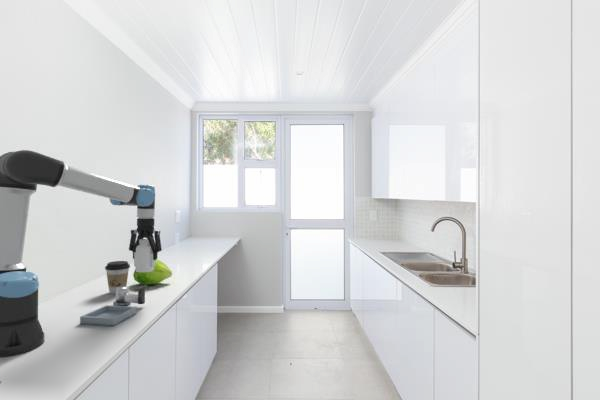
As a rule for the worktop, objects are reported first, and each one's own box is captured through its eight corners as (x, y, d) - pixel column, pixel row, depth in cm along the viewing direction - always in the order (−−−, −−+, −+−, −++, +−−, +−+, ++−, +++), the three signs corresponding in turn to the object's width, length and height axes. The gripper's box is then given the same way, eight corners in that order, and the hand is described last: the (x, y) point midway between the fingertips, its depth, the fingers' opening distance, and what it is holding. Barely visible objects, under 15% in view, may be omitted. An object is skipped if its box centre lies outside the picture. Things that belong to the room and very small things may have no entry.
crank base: (123, 307, 151) (123, 304, 151) (109, 306, 152) (109, 303, 152) (146, 296, 167) (146, 294, 167) (133, 295, 168) (133, 293, 168)
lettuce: (170, 286, 185) (170, 261, 185) (129, 288, 181) (129, 263, 180) (173, 279, 200) (173, 256, 200) (135, 281, 195) (136, 257, 195)
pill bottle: (146, 273, 156) (147, 240, 156) (131, 272, 158) (132, 239, 158) (157, 269, 164) (158, 238, 164) (142, 268, 166) (143, 237, 165)
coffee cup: (101, 296, 167) (101, 265, 167) (108, 289, 178) (108, 261, 178) (127, 294, 170) (127, 264, 170) (132, 288, 181) (132, 260, 181)
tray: (113, 326, 129) (113, 319, 129) (80, 323, 131) (80, 316, 131) (136, 313, 143) (136, 307, 143) (106, 311, 145) (106, 305, 145)
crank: (112, 302, 153) (112, 285, 153) (123, 298, 158) (123, 282, 158) (138, 306, 148) (138, 288, 148) (148, 302, 154) (149, 285, 154)
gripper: (170, 218, 163) (169, 265, 163) (130, 216, 166) (129, 263, 166) (161, 218, 155) (160, 269, 155) (120, 217, 159) (119, 266, 159)
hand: (144, 266), depth 161 cm, fingers closed on pill bottle, 8 cm apart
